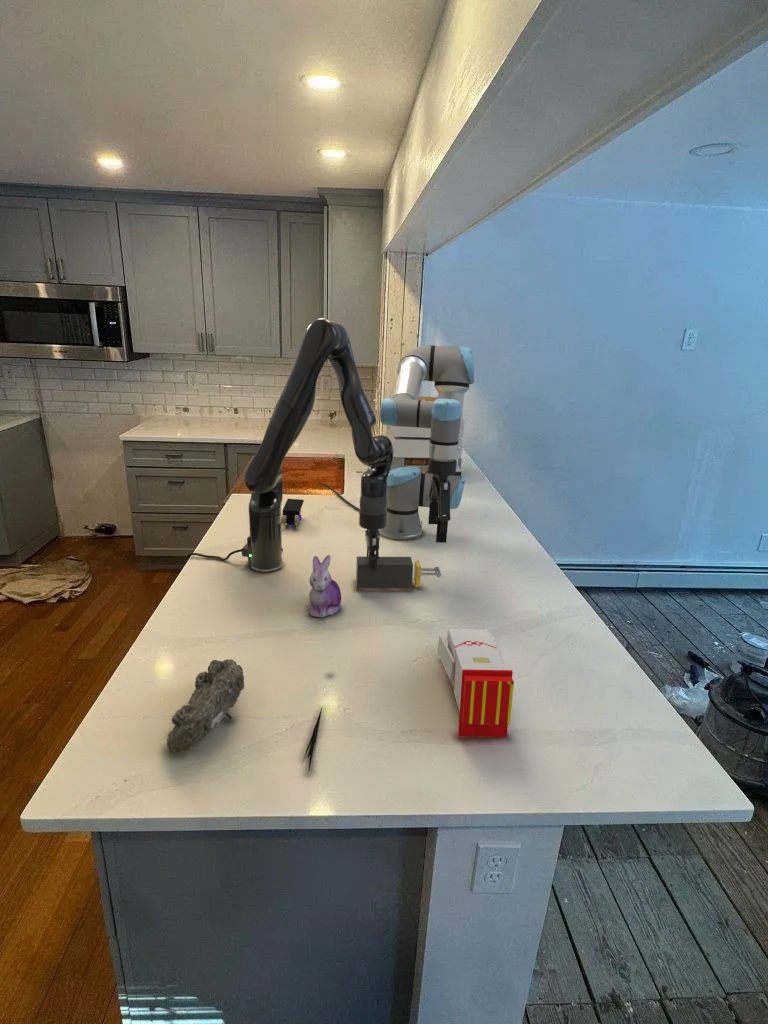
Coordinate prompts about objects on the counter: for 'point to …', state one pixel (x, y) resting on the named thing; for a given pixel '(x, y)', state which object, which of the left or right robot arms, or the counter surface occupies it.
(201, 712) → the fossil
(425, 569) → the drawer
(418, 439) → the transformer
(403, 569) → the dark grey box
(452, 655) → the toy
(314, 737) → the feather
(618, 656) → the counter surface
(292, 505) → the figurine character
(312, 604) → the figurine
